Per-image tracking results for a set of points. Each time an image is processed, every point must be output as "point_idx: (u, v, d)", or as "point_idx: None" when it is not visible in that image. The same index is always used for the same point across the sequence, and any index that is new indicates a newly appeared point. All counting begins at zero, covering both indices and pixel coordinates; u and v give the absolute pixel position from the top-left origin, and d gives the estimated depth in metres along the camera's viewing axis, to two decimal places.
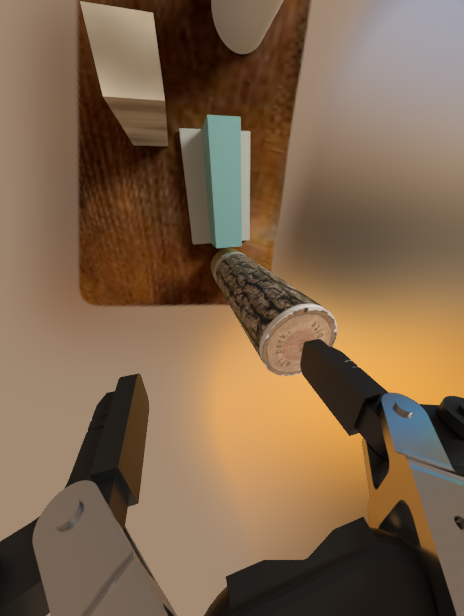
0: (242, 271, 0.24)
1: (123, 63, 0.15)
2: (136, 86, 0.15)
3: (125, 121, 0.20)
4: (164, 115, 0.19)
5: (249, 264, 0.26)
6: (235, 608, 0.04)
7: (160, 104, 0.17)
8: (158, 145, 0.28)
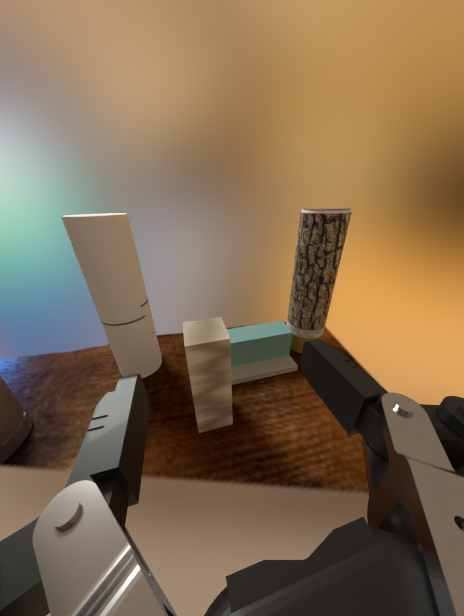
0: (301, 284, 0.33)
1: (208, 331, 0.21)
2: (218, 326, 0.22)
3: None
4: None
5: (294, 290, 0.34)
6: (235, 608, 0.04)
7: None
8: None
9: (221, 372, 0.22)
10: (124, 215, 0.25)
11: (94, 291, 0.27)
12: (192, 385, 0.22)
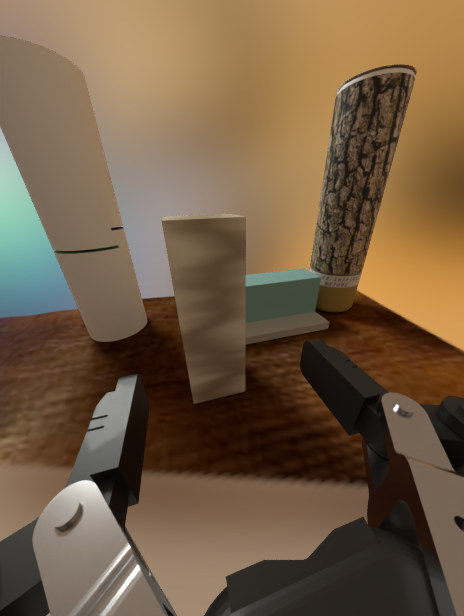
0: (335, 206, 0.24)
1: (207, 216, 0.12)
2: (223, 215, 0.13)
3: None
4: None
5: (323, 219, 0.26)
6: (235, 608, 0.04)
7: None
8: None
9: (229, 292, 0.13)
10: (76, 67, 0.16)
11: (35, 192, 0.18)
12: (180, 311, 0.13)
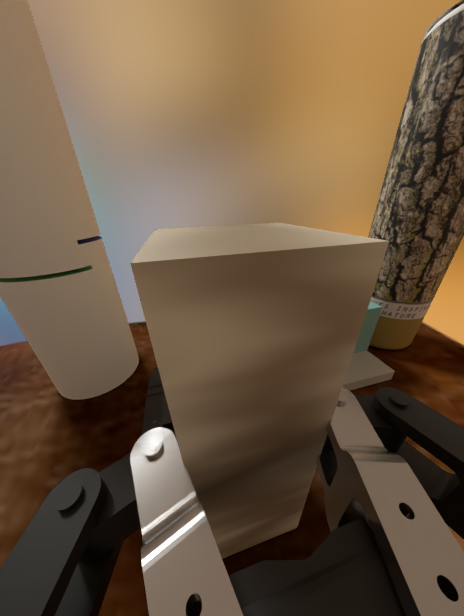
0: (411, 207, 0.16)
1: (257, 234, 0.05)
2: (289, 229, 0.06)
3: None
4: None
5: (386, 226, 0.18)
6: None
7: None
8: None
9: (304, 409, 0.06)
10: None
11: None
12: (190, 462, 0.05)
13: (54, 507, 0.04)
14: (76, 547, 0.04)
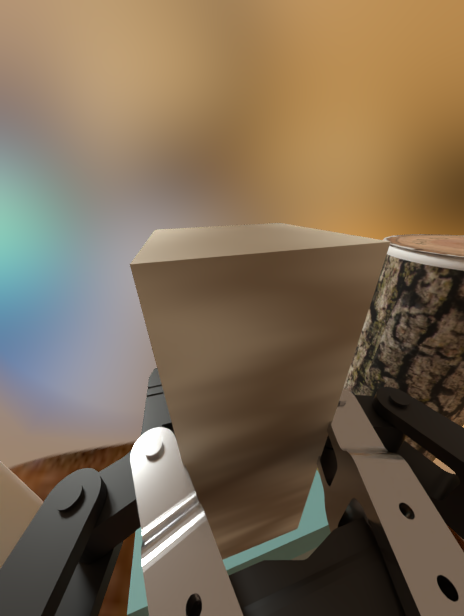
0: None
1: (258, 234, 0.05)
2: (289, 229, 0.06)
3: None
4: None
5: None
6: (235, 608, 0.04)
7: None
8: None
9: (305, 410, 0.06)
10: None
11: None
12: (190, 463, 0.05)
13: (54, 507, 0.04)
14: (76, 547, 0.04)
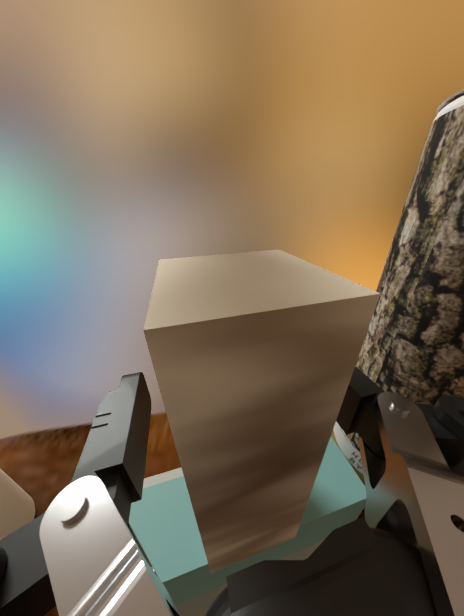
0: (416, 373, 0.10)
1: (258, 274, 0.05)
2: (288, 264, 0.06)
3: None
4: None
5: (376, 376, 0.12)
6: (235, 608, 0.04)
7: None
8: None
9: (302, 436, 0.06)
10: None
11: None
12: (194, 487, 0.06)
13: None
14: None
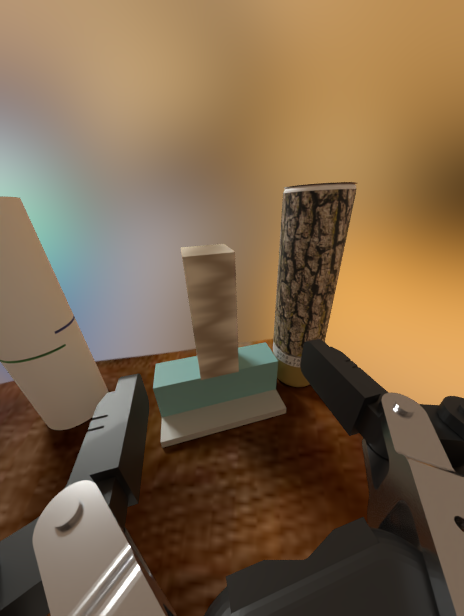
0: (288, 296, 0.23)
1: (210, 249, 0.19)
2: (221, 247, 0.20)
3: None
4: None
5: (279, 303, 0.25)
6: (235, 608, 0.04)
7: None
8: None
9: (225, 299, 0.19)
10: (3, 198, 0.16)
11: None
12: (192, 312, 0.19)
13: None
14: None
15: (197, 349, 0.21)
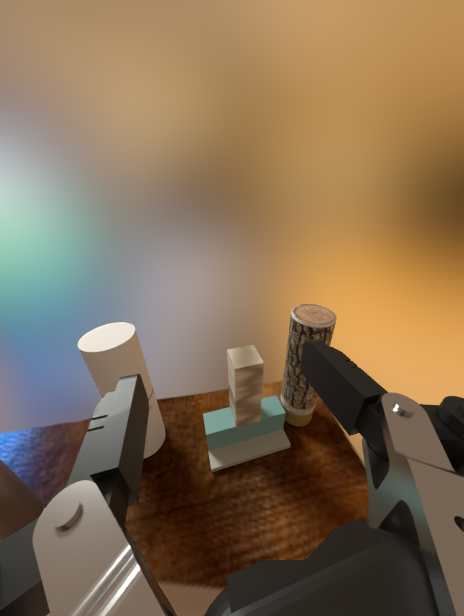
0: (293, 373, 0.36)
1: (247, 356, 0.31)
2: (253, 353, 0.32)
3: None
4: None
5: (286, 374, 0.38)
6: (235, 608, 0.04)
7: None
8: None
9: (255, 385, 0.32)
10: (132, 336, 0.28)
11: None
12: (236, 394, 0.31)
13: None
14: None
15: (236, 412, 0.33)
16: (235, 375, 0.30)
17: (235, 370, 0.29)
